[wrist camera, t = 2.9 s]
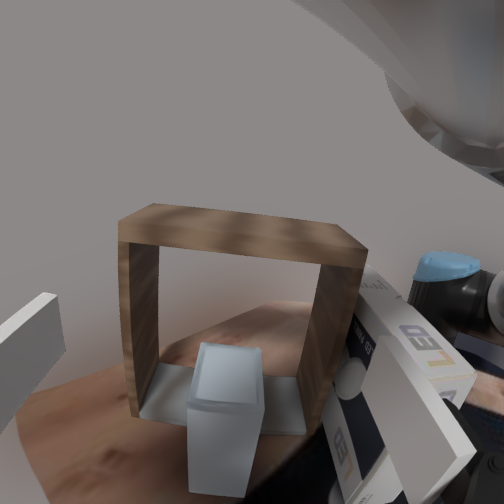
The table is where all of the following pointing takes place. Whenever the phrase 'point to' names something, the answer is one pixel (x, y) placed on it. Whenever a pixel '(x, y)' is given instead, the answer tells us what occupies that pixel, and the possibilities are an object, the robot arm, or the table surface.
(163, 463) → the table surface
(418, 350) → the packaging
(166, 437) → the table surface
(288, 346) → the table surface
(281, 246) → the walnut shelf
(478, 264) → the robot arm
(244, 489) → the tall grey lidded box
